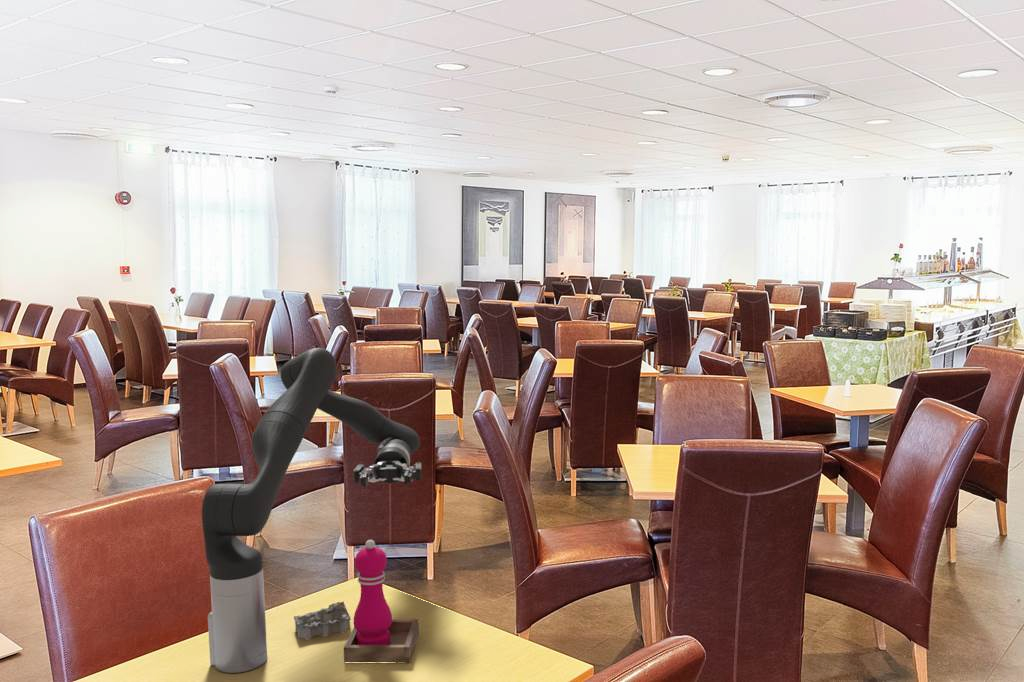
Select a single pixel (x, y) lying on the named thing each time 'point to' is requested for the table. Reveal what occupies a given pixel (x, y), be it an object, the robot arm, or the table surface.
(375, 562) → the pepper mill
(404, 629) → the tray
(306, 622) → the egg carton
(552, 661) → the table surface
